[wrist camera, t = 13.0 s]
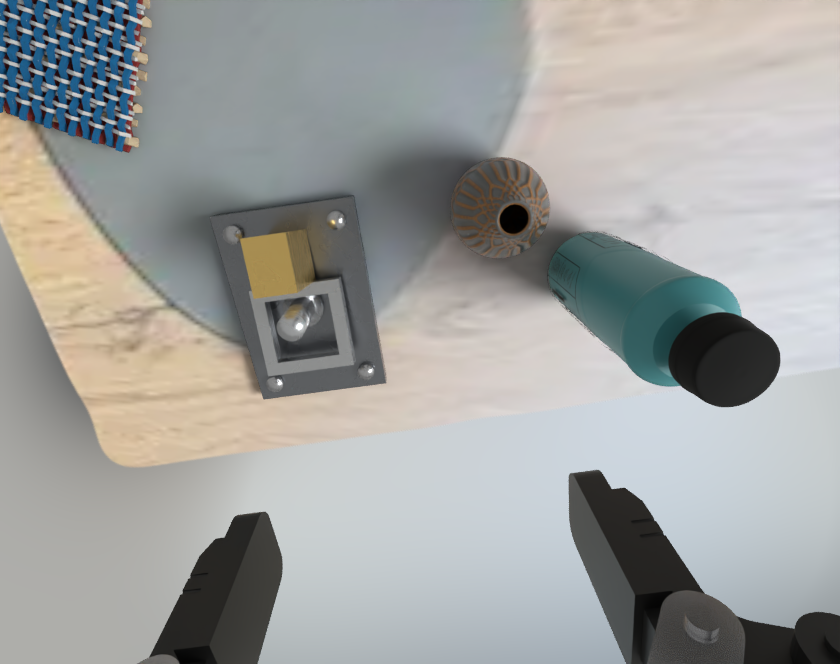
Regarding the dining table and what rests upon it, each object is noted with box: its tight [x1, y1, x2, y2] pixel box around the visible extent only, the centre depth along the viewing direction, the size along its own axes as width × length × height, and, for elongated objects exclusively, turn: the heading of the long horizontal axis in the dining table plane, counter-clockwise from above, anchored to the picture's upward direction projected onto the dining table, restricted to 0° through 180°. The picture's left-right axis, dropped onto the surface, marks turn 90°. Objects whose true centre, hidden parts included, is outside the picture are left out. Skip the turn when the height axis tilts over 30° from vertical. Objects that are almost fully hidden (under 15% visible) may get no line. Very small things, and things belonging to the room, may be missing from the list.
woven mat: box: [0, 0, 151, 153], centre depth 32 cm, size 10×11×2 cm
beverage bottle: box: [548, 231, 780, 407], centre depth 30 cm, size 6×7×20 cm
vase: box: [450, 157, 550, 258], centre depth 33 cm, size 7×7×9 cm
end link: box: [240, 229, 356, 376], centre depth 35 cm, size 11×7×6 cm, turn 8°
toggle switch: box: [210, 196, 386, 399], centre depth 37 cm, size 16×11×6 cm
